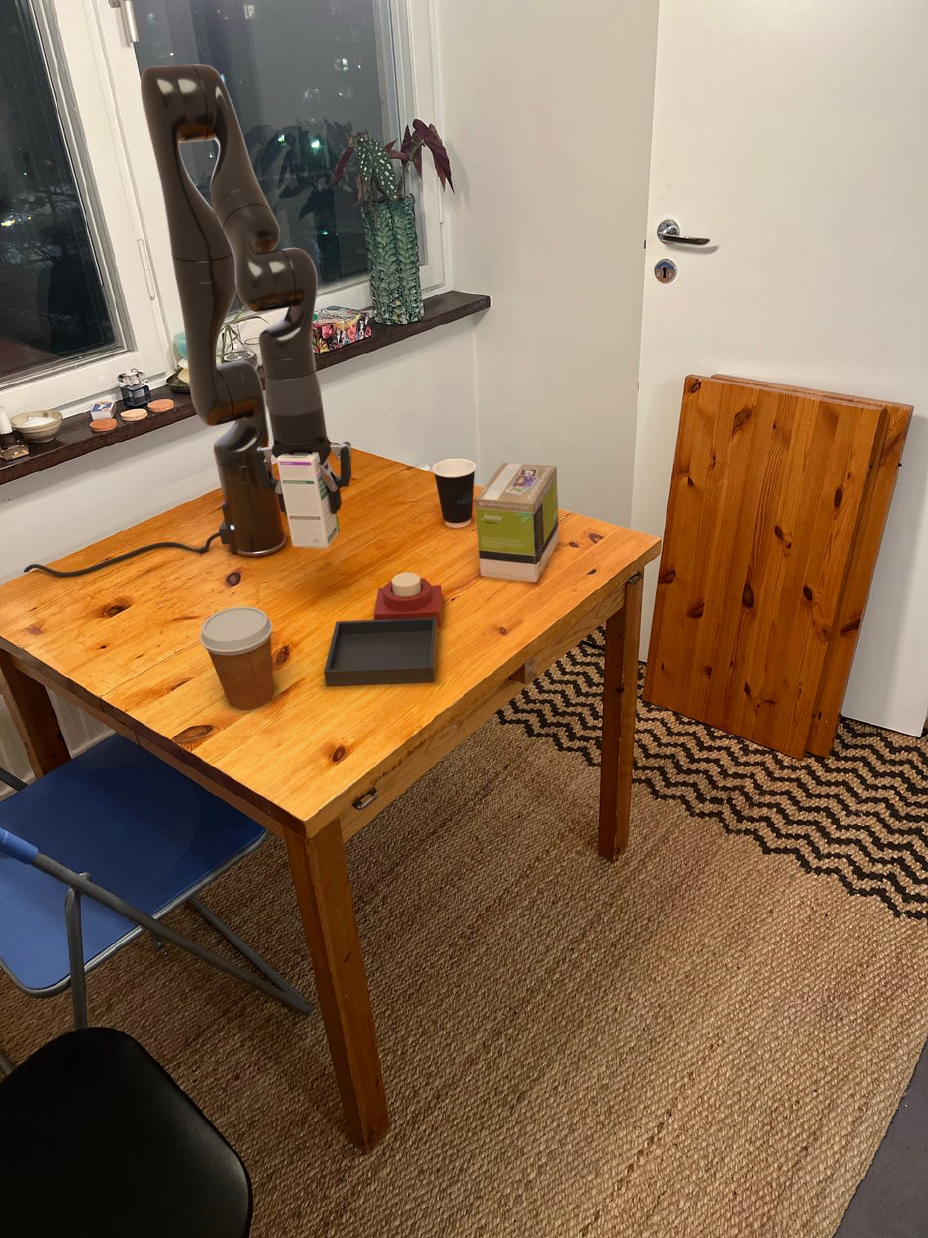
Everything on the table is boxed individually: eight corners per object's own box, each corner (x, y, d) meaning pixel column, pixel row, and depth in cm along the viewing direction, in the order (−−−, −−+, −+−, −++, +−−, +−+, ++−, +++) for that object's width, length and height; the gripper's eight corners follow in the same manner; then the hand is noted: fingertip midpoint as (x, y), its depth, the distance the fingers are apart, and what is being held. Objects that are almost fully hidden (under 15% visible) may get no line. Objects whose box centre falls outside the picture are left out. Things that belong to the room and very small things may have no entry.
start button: (391, 598, 139) (390, 587, 138) (394, 583, 142) (392, 572, 141) (420, 597, 138) (419, 585, 137) (422, 582, 142) (421, 571, 141)
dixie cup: (473, 532, 166) (469, 476, 160) (431, 529, 168) (426, 474, 162) (483, 514, 172) (480, 459, 167) (443, 511, 174) (439, 457, 168)
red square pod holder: (375, 630, 140) (372, 602, 137) (380, 603, 146) (376, 576, 144) (440, 628, 139) (438, 600, 137) (442, 601, 146) (440, 573, 143)
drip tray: (326, 687, 128) (324, 672, 127) (338, 635, 139) (336, 621, 138) (434, 682, 127) (433, 667, 126) (437, 631, 139) (436, 616, 137)
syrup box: (328, 549, 135) (315, 457, 127) (290, 547, 136) (275, 456, 128) (340, 531, 140) (328, 442, 132) (304, 529, 141) (290, 440, 133)
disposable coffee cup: (221, 679, 131) (204, 608, 125) (288, 673, 131) (274, 601, 125) (211, 720, 123) (192, 646, 117) (282, 713, 123) (267, 639, 117)
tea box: (505, 537, 164) (502, 460, 156) (560, 543, 160) (560, 464, 153) (478, 577, 152) (473, 496, 144) (536, 585, 149) (535, 502, 141)
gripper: (349, 392, 129) (362, 500, 138) (249, 396, 130) (268, 503, 139) (343, 410, 123) (357, 522, 132) (237, 415, 123) (258, 526, 132)
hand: (311, 512), depth 135 cm, fingers closed on syrup box, 6 cm apart
